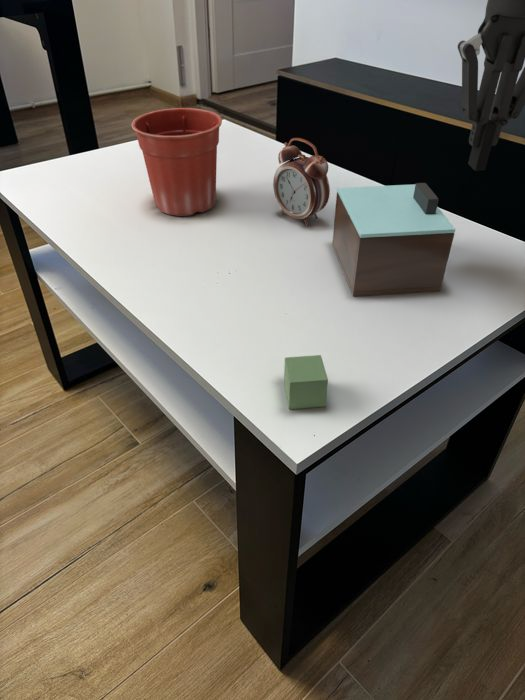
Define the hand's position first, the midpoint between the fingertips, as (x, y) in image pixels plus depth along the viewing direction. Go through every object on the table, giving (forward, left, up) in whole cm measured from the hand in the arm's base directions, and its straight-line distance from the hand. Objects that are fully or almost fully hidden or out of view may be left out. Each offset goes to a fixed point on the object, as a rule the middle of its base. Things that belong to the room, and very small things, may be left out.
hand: (476, 167), depth 81 cm
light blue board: (0, +12, -6) cm, 14 cm away
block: (-29, +30, -16) cm, 45 cm away
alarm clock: (+19, +23, -17) cm, 34 cm away
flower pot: (+28, +45, -17) cm, 55 cm away
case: (0, +12, -16) cm, 20 cm away
